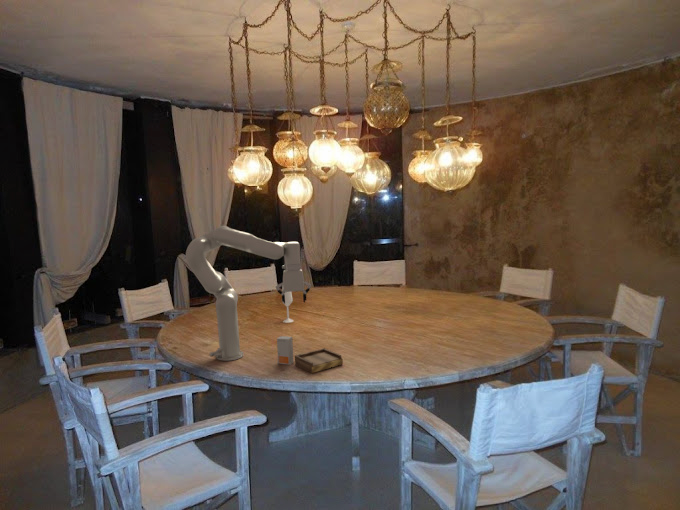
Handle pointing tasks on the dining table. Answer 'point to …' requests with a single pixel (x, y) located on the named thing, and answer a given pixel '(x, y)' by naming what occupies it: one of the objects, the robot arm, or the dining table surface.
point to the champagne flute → (287, 302)
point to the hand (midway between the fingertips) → (294, 302)
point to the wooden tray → (318, 360)
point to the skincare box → (285, 350)
